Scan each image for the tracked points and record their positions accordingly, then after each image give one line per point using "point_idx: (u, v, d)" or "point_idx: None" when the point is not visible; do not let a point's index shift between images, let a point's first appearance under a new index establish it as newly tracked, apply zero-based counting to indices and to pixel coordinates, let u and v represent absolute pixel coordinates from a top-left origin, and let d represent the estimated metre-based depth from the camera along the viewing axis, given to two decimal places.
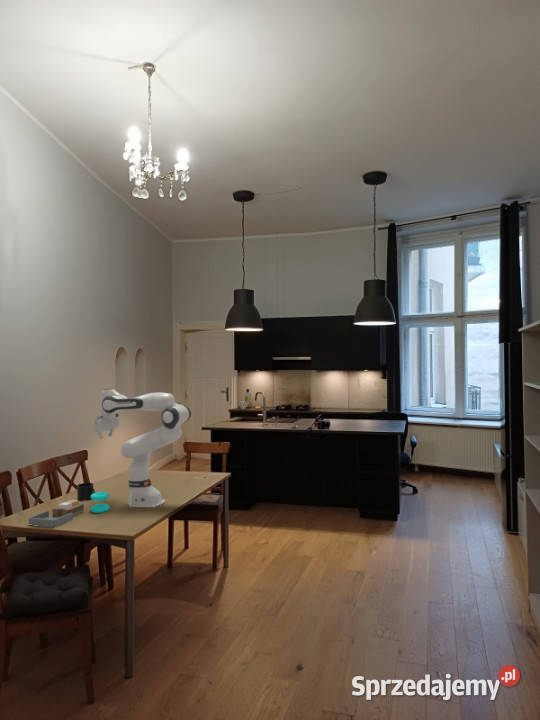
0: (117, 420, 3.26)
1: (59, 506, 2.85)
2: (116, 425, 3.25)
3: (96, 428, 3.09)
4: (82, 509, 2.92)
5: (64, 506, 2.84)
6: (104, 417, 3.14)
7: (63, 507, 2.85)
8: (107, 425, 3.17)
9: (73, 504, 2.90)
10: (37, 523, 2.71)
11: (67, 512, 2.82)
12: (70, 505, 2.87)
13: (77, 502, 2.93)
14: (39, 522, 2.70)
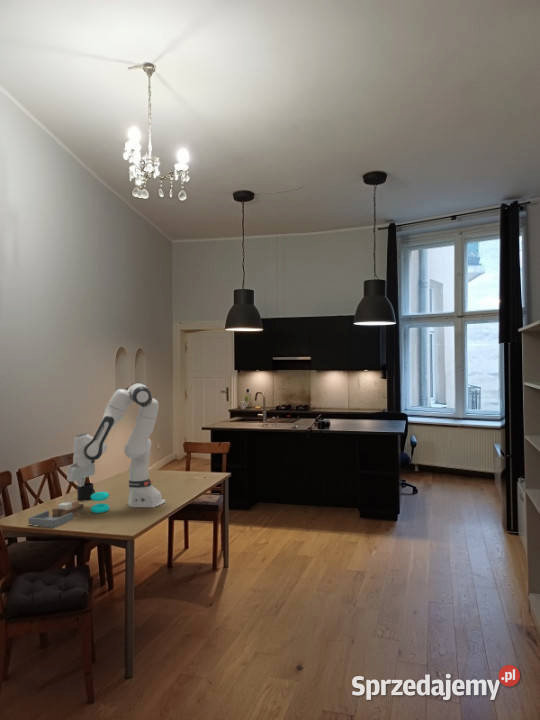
0: (93, 466, 3.08)
1: (59, 506, 2.85)
2: (92, 472, 3.07)
3: (70, 477, 2.91)
4: (82, 509, 2.92)
5: (64, 506, 2.84)
6: (78, 465, 2.96)
7: (63, 507, 2.85)
8: (82, 473, 2.99)
9: (73, 504, 2.90)
10: (37, 523, 2.71)
11: (67, 512, 2.82)
12: (70, 505, 2.87)
13: (77, 502, 2.93)
14: (39, 522, 2.70)
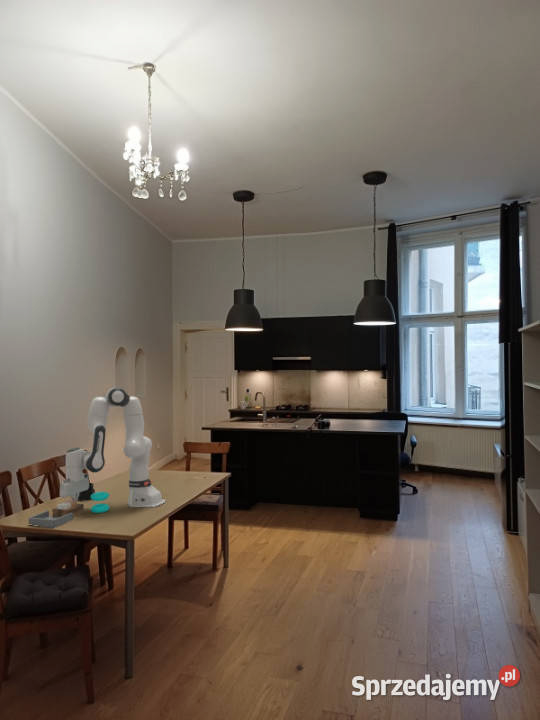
0: (87, 481, 3.02)
1: (58, 506, 2.85)
2: (86, 486, 3.02)
3: (62, 493, 2.85)
4: (82, 509, 2.92)
5: (63, 506, 2.83)
6: (71, 480, 2.90)
7: (62, 507, 2.84)
8: (76, 489, 2.93)
9: (71, 505, 2.88)
10: (37, 523, 2.71)
11: (67, 512, 2.82)
12: (69, 505, 2.86)
13: (75, 503, 2.91)
14: (39, 522, 2.70)
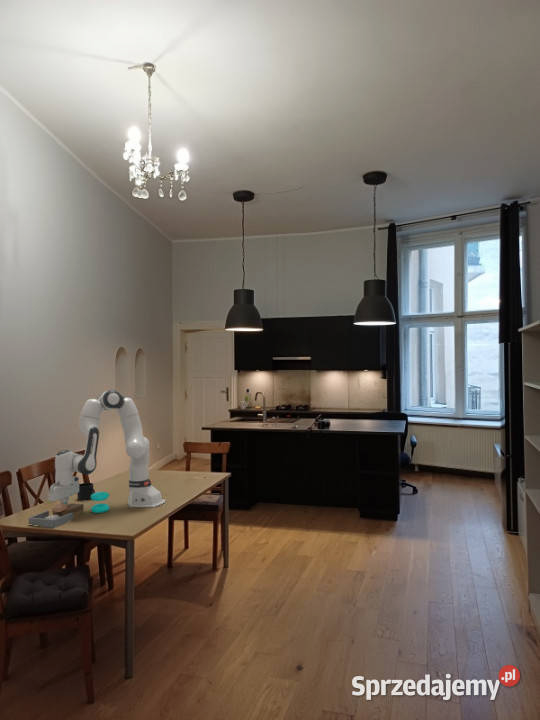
0: (77, 484, 2.94)
1: None
2: (76, 490, 2.94)
3: (52, 497, 2.77)
4: (82, 509, 2.92)
5: None
6: (60, 483, 2.83)
7: None
8: (65, 492, 2.86)
9: (61, 509, 2.81)
10: (37, 523, 2.71)
11: (67, 512, 2.82)
12: None
13: (65, 506, 2.84)
14: (39, 522, 2.70)
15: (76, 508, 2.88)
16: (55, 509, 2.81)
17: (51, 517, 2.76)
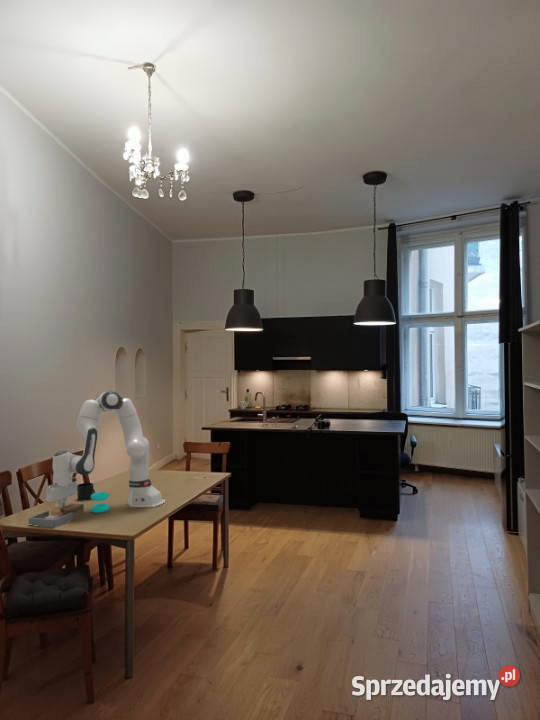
0: (75, 485, 2.92)
1: None
2: (74, 491, 2.92)
3: (49, 498, 2.75)
4: (82, 509, 2.92)
5: None
6: (58, 485, 2.81)
7: None
8: (63, 493, 2.84)
9: None
10: (37, 523, 2.71)
11: (67, 512, 2.82)
12: None
13: (59, 512, 2.80)
14: (39, 522, 2.70)
15: (76, 508, 2.88)
16: None
17: (51, 517, 2.76)
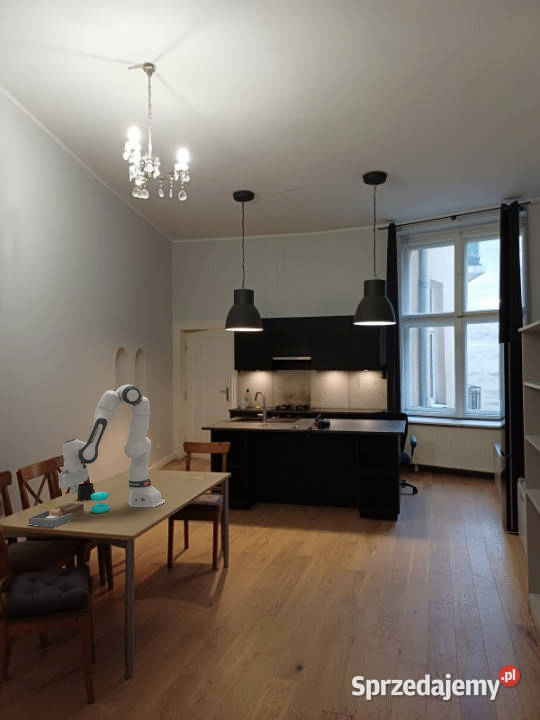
0: (86, 472, 3.00)
1: None
2: (85, 477, 3.00)
3: (62, 484, 2.84)
4: (82, 509, 2.92)
5: None
6: (69, 471, 2.89)
7: None
8: (75, 479, 2.92)
9: None
10: (37, 523, 2.71)
11: (67, 512, 2.82)
12: None
13: (59, 512, 2.80)
14: (39, 522, 2.70)
15: (76, 508, 2.88)
16: None
17: (51, 517, 2.76)
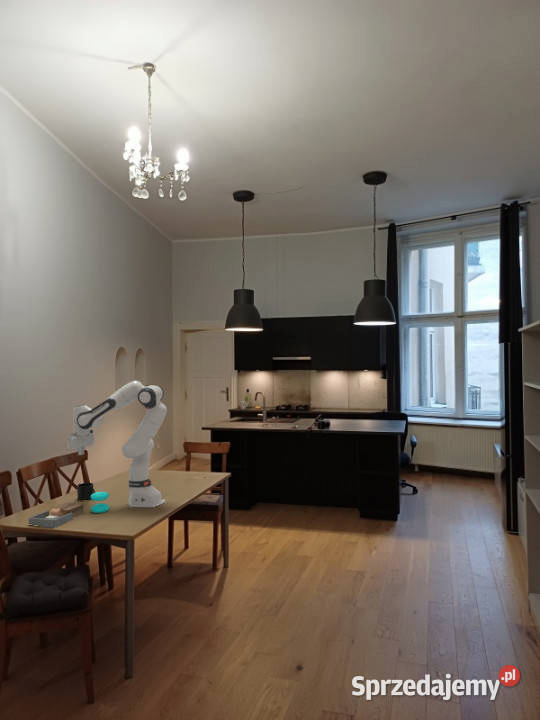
0: (92, 436, 3.22)
1: None
2: (91, 442, 3.22)
3: (70, 446, 3.05)
4: (82, 509, 2.92)
5: None
6: (78, 434, 3.11)
7: None
8: (82, 442, 3.14)
9: None
10: (37, 523, 2.71)
11: (67, 512, 2.82)
12: None
13: (59, 512, 2.80)
14: (39, 522, 2.70)
15: (76, 508, 2.88)
16: None
17: (51, 517, 2.76)
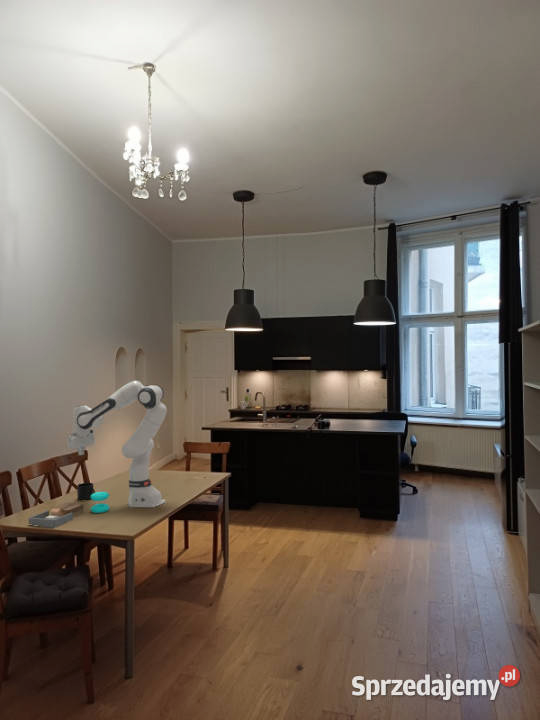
0: (92, 436, 3.22)
1: None
2: (92, 442, 3.22)
3: (70, 446, 3.06)
4: (82, 509, 2.92)
5: None
6: (78, 434, 3.11)
7: None
8: (82, 442, 3.14)
9: None
10: (37, 523, 2.71)
11: (67, 512, 2.82)
12: None
13: (59, 512, 2.80)
14: (39, 522, 2.70)
15: (76, 508, 2.88)
16: None
17: (51, 517, 2.76)
